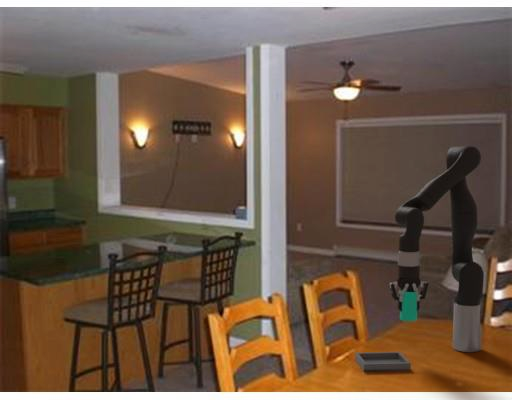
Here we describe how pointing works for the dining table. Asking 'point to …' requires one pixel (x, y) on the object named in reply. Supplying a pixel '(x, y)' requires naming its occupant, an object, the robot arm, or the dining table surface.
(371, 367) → the tray
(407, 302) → the candle
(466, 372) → the dining table surface
